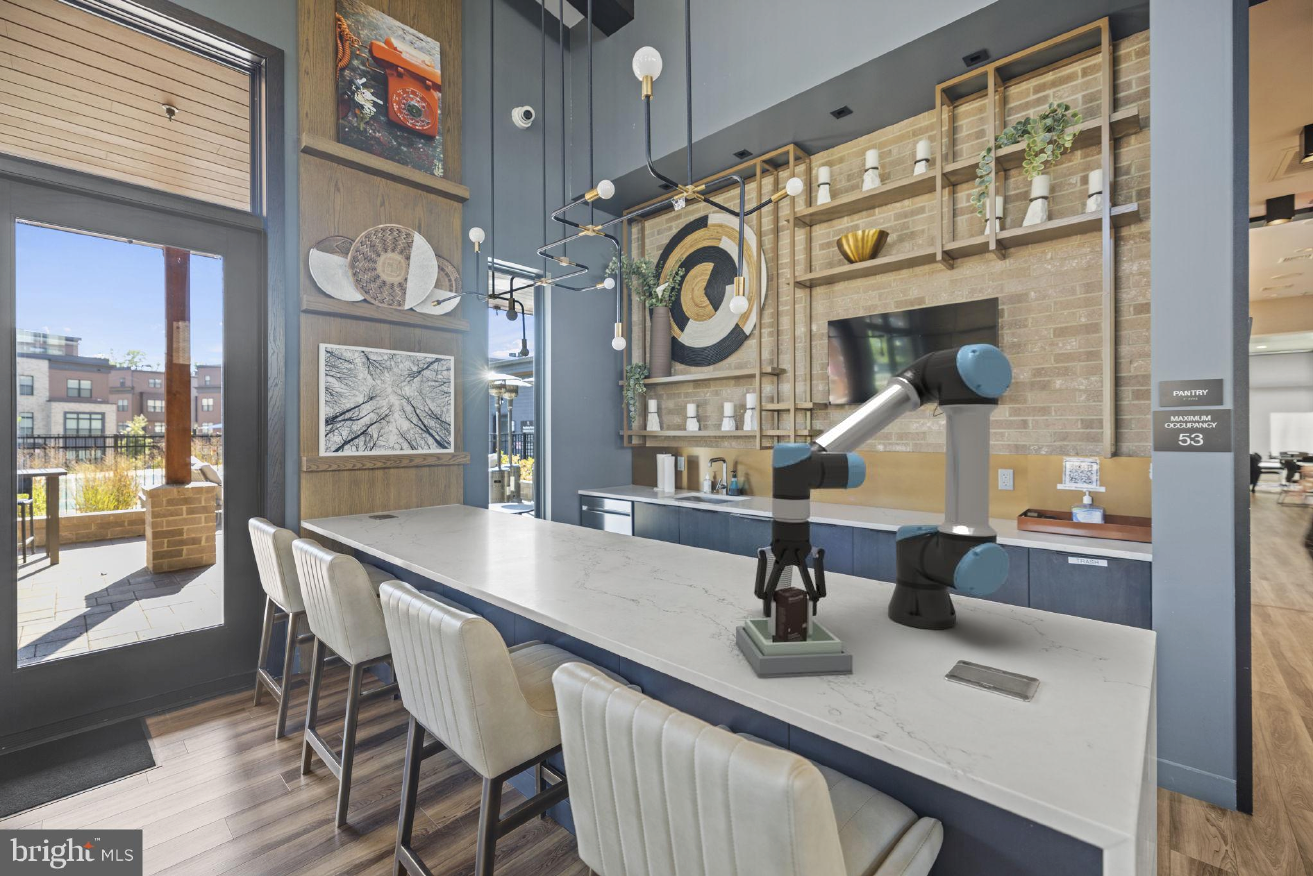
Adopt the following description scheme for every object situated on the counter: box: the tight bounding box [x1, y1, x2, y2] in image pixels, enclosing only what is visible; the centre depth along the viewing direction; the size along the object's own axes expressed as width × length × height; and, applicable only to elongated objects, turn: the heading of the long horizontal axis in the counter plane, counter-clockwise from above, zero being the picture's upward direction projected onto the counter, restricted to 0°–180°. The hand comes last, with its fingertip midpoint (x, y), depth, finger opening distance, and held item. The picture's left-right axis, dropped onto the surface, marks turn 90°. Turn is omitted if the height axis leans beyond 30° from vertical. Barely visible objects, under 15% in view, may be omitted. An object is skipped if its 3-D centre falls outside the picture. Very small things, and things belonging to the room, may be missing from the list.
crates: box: [735, 616, 853, 679], centre depth 117 cm, size 18×18×6 cm
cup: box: [761, 552, 794, 618], centre depth 142 cm, size 8×8×16 cm
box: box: [772, 586, 808, 643], centre depth 117 cm, size 6×4×12 cm
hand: (789, 632), depth 117 cm, fingers closed on box, 7 cm apart
